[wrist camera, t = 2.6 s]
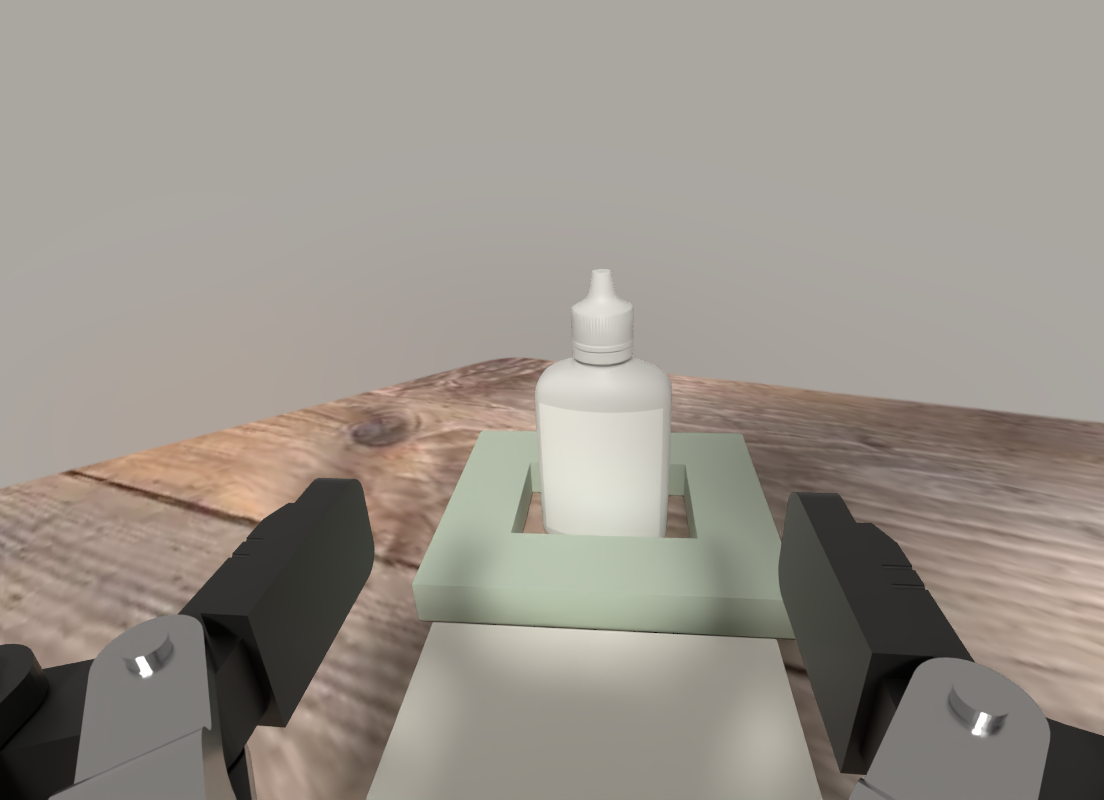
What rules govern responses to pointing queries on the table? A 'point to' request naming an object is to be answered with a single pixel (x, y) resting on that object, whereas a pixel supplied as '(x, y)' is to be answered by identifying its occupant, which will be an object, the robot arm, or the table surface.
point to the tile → (595, 719)
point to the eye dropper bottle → (604, 427)
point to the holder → (608, 551)
